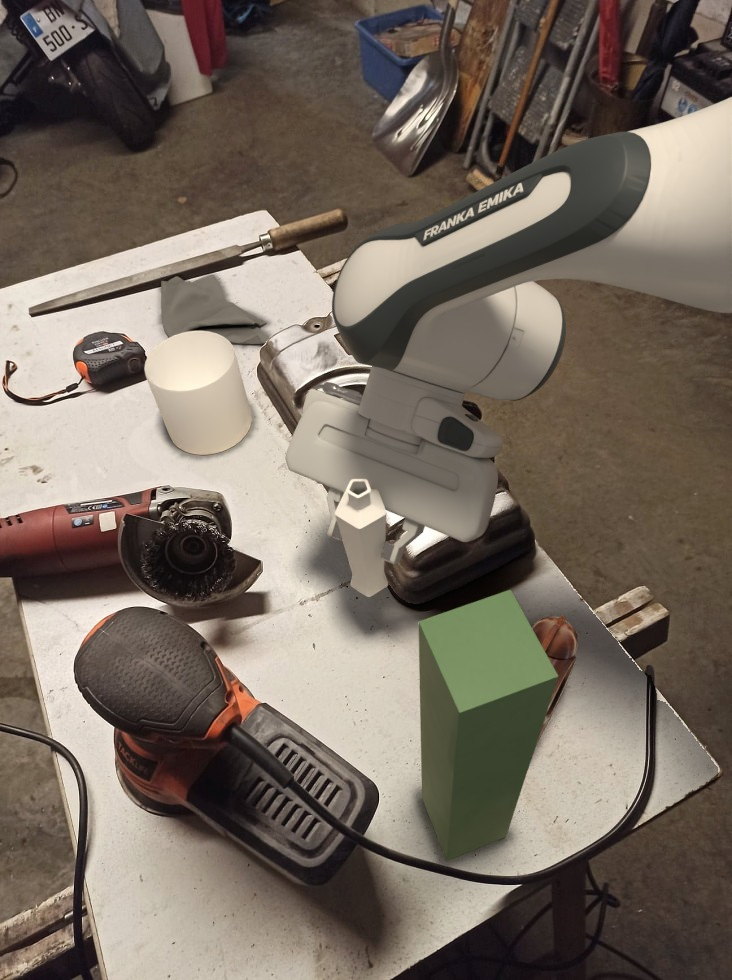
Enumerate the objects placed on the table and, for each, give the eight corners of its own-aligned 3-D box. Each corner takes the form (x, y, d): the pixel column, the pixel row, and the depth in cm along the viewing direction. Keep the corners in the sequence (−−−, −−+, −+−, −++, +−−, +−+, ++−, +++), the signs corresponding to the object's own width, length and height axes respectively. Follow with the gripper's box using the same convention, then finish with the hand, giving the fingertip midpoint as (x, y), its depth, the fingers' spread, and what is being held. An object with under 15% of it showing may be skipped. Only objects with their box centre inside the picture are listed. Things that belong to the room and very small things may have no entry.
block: (506, 836, 68) (559, 676, 41) (446, 861, 67) (459, 713, 40) (479, 774, 72) (510, 588, 45) (421, 796, 71) (418, 621, 44)
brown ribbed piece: (523, 771, 72) (542, 711, 60) (479, 745, 74) (488, 682, 62) (569, 681, 77) (594, 610, 65) (527, 659, 79) (544, 586, 67)
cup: (172, 400, 108) (147, 335, 98) (251, 390, 108) (235, 325, 98) (166, 460, 100) (140, 396, 91) (252, 450, 100) (234, 385, 91)
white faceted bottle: (384, 605, 73) (375, 514, 62) (342, 593, 74) (327, 502, 63) (398, 567, 76) (393, 474, 64) (358, 556, 77) (346, 462, 65)
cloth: (132, 296, 124) (128, 285, 122) (204, 264, 128) (201, 252, 127) (205, 378, 110) (202, 367, 108) (283, 339, 114) (281, 327, 113)
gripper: (297, 372, 68) (256, 512, 71) (504, 445, 61) (449, 598, 63) (327, 378, 74) (288, 507, 76) (520, 446, 67) (469, 585, 69)
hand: (363, 549), depth 70 cm, fingers closed on white faceted bottle, 4 cm apart
